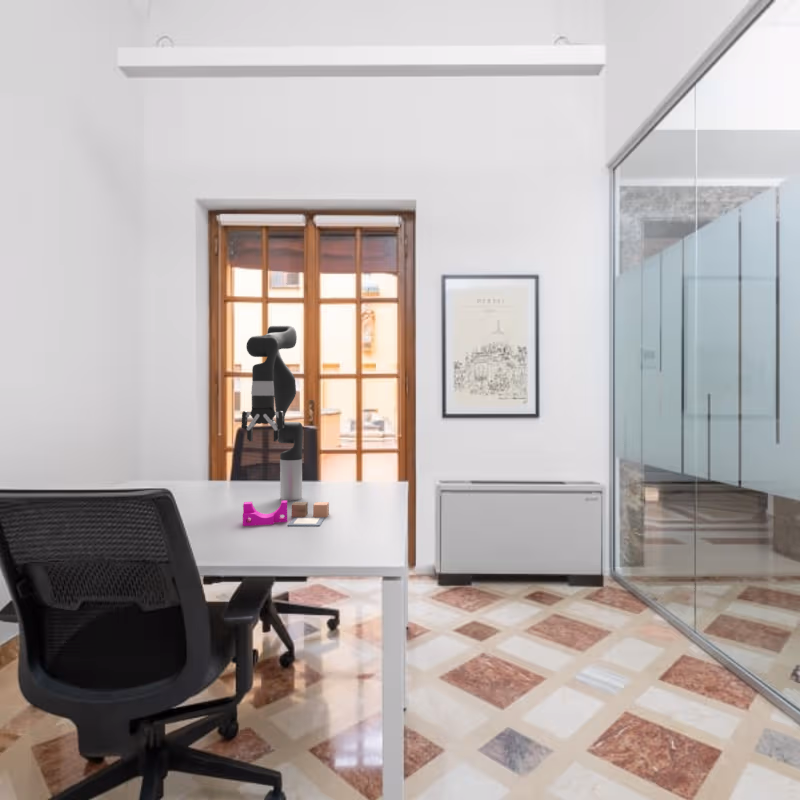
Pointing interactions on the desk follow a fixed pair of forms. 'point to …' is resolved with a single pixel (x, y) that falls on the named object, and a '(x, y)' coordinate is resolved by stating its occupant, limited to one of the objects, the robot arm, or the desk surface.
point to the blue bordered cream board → (306, 521)
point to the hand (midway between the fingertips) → (263, 441)
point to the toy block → (263, 515)
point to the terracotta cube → (321, 509)
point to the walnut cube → (299, 509)
